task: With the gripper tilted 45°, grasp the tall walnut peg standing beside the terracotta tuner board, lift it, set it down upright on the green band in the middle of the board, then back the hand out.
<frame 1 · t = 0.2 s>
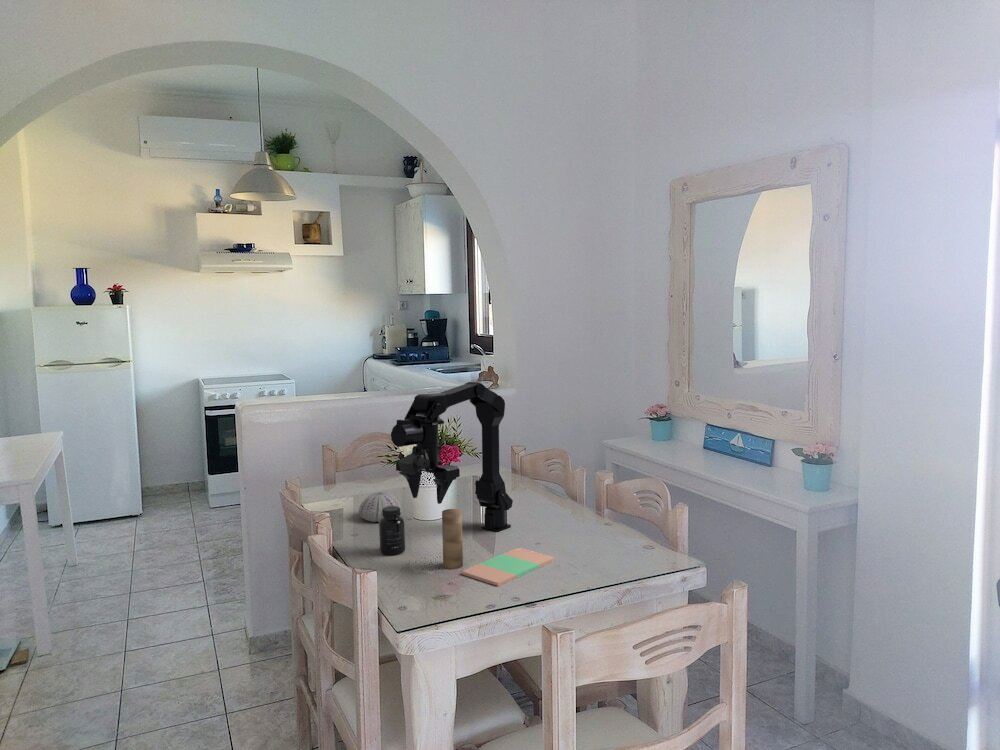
hand: (427, 500, 192), 14 cm above the table, tool pointing down, fingers open, 9 cm apart
tuner board: (509, 567, 183), on the table
supplement bottle: (392, 552, 196), on the table
walnut peg: (453, 565, 185), on the table
sea urchin shell: (380, 518, 227), on the table
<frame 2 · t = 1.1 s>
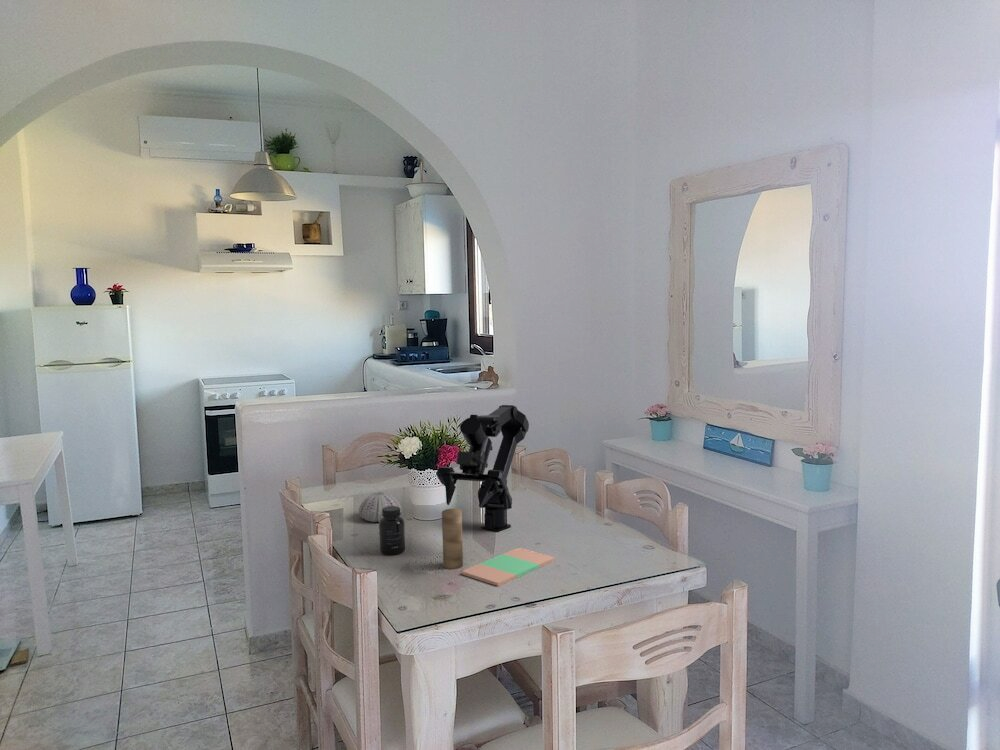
hand: (463, 505, 191), 13 cm above the table, tool tilted 45°, fingers open, 9 cm apart
nothing on the table moved.
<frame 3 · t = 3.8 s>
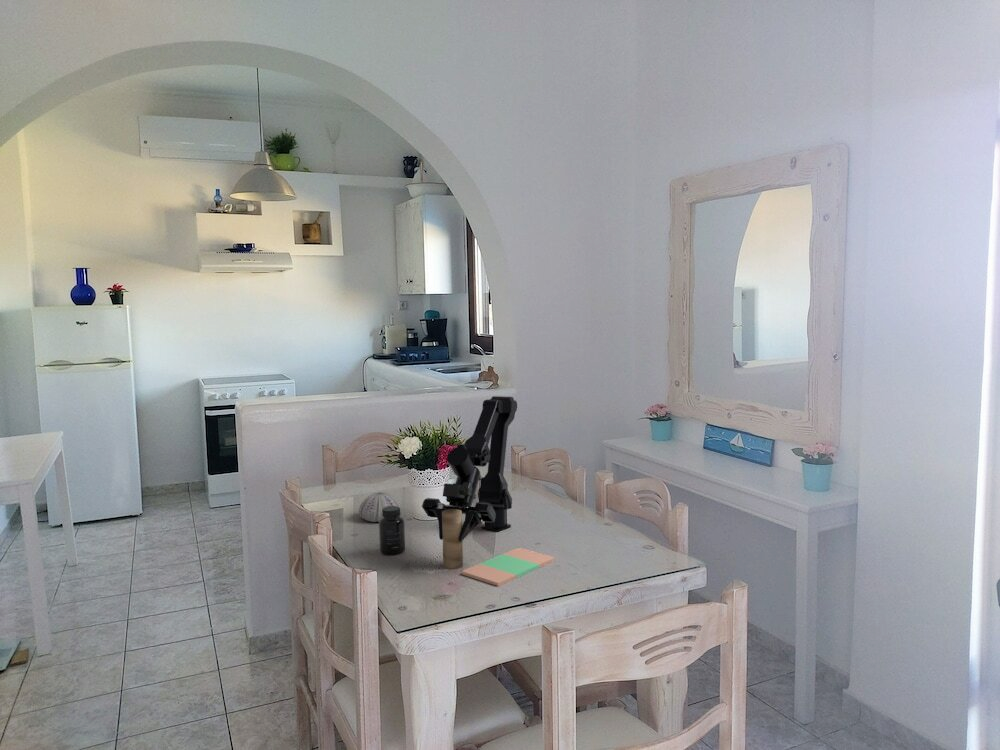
hand: (450, 540, 183), 7 cm above the table, tool tilted 45°, fingers closed on walnut peg, 5 cm apart
walnut peg: (453, 565, 185), on the table, touching gripper
everything else where it was.
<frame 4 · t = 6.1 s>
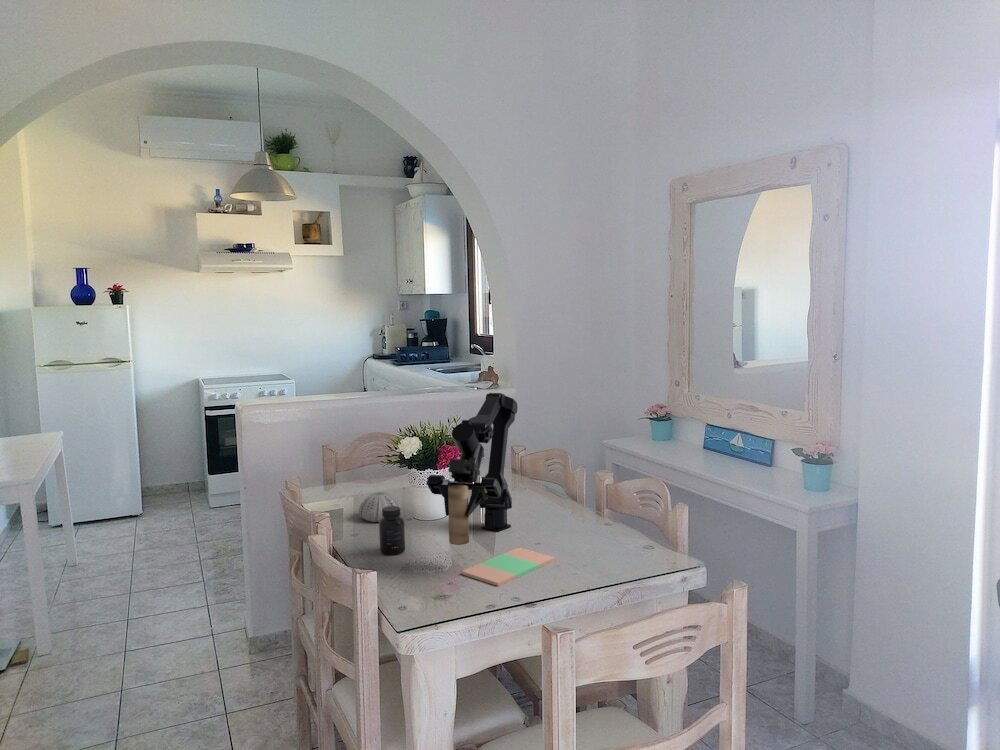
hand: (456, 515, 182), 13 cm above the table, tool tilted 45°, fingers closed on walnut peg, 5 cm apart
walnut peg: (459, 541, 184), point 6 cm above the table, touching gripper
everything else where it was.
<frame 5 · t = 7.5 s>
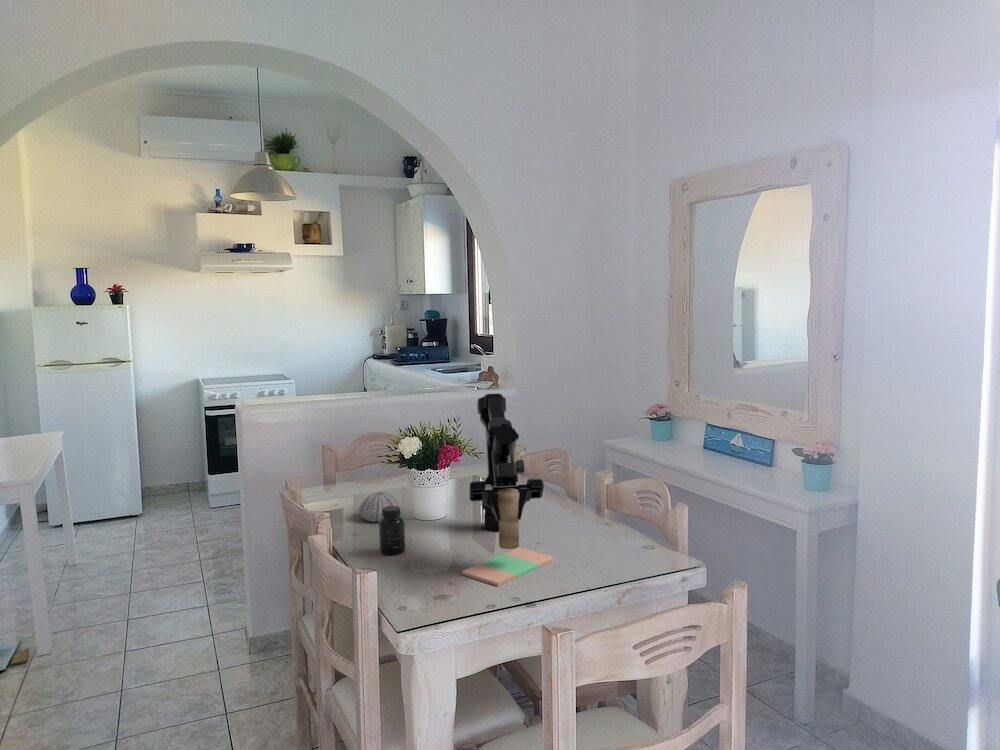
hand: (509, 519, 180), 13 cm above the table, tool tilted 45°, fingers closed on walnut peg, 5 cm apart
walnut peg: (509, 545, 182), point 6 cm above the table, touching gripper
everything else where it was.
when the fingers open (9 cm above the table, at t = 8.6 s): walnut peg stays where it is, resting on tuner board.
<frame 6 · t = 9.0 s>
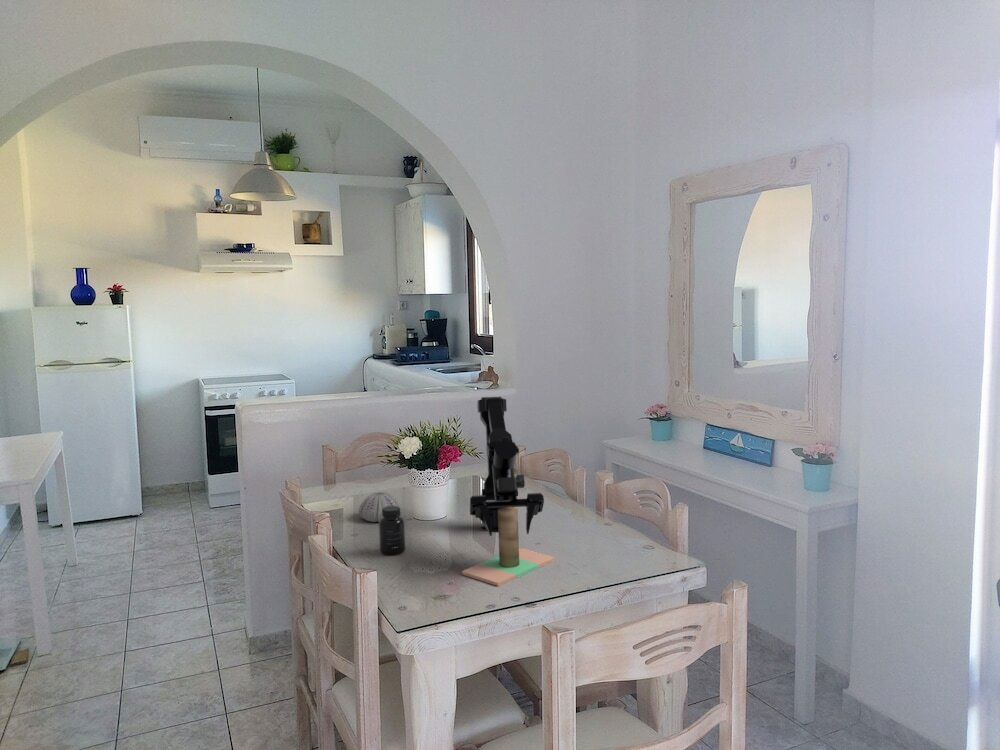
hand: (509, 534, 181), 9 cm above the table, tool tilted 45°, fingers open, 9 cm apart
walnut peg: (509, 563, 183), point 1 cm above the table, touching tuner board
everything else where it was.
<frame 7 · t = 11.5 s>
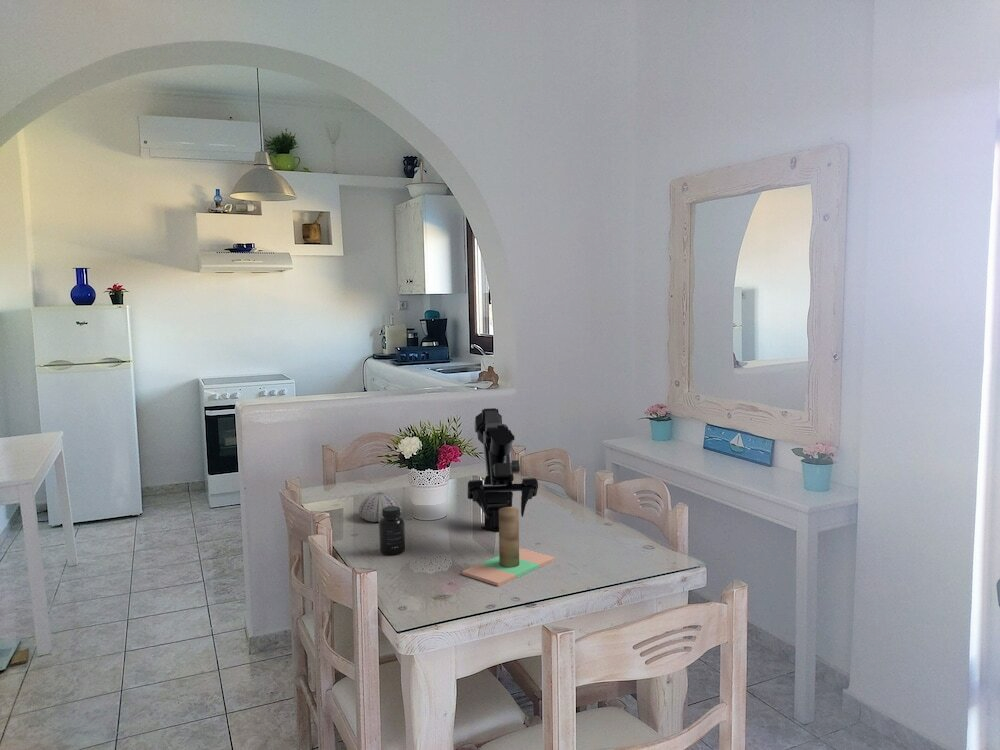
hand: (505, 516, 190), 11 cm above the table, tool tilted 45°, fingers open, 9 cm apart
nothing on the table moved.
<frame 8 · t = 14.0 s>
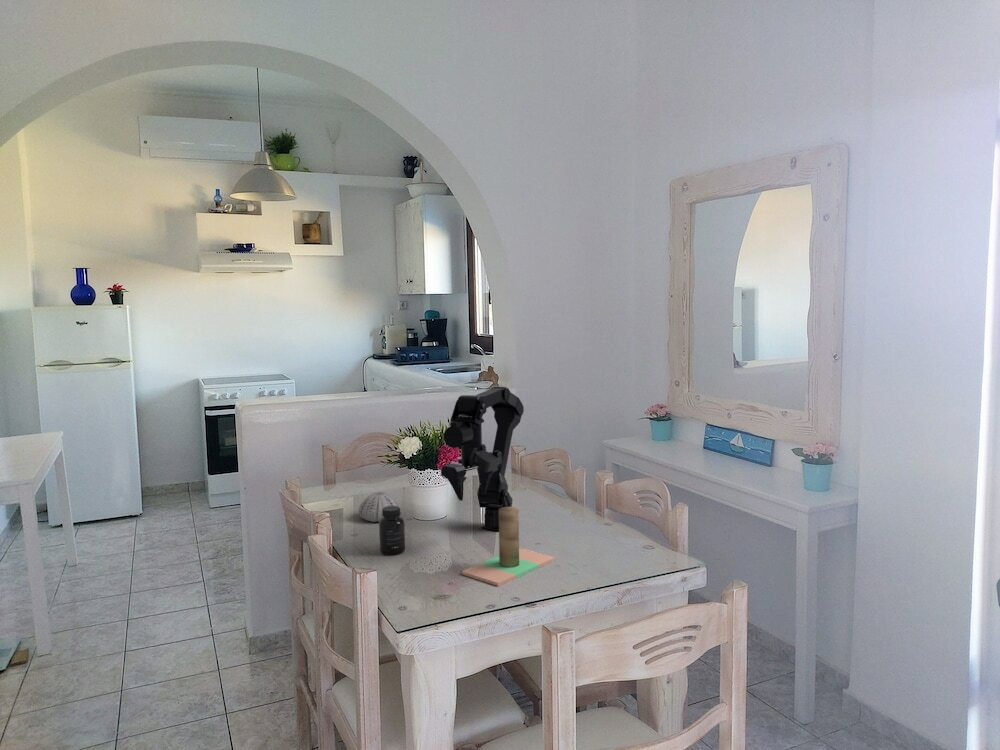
hand: (472, 496, 201), 13 cm above the table, tool pointing down, fingers open, 9 cm apart
nothing on the table moved.
at the end: walnut peg inside the target area (0.0 cm from its centre), point 0.8 cm above the table; walnut peg tilted 0°; the gripper is holding nothing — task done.
